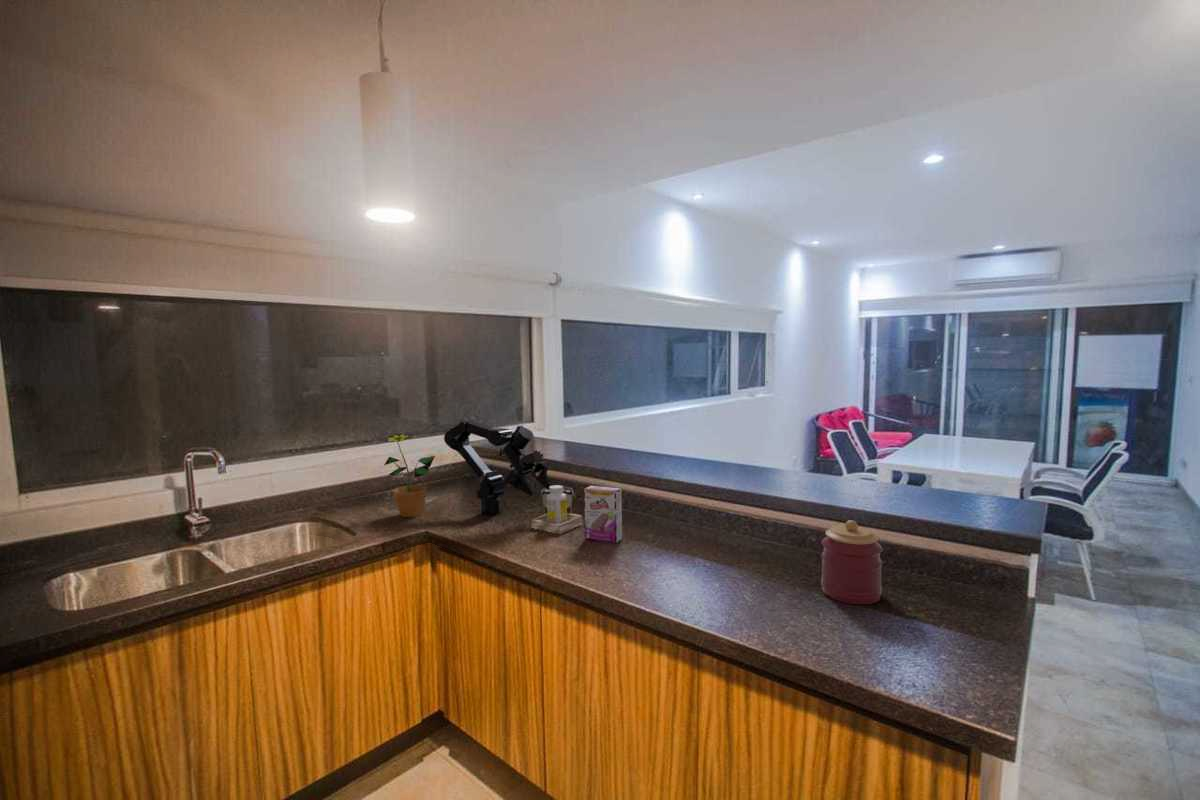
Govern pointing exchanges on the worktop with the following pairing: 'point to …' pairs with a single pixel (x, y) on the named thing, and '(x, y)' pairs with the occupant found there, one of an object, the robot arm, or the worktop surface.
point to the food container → (566, 491)
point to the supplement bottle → (556, 505)
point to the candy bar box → (603, 514)
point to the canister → (851, 564)
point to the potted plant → (410, 495)
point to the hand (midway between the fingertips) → (541, 491)
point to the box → (544, 525)
